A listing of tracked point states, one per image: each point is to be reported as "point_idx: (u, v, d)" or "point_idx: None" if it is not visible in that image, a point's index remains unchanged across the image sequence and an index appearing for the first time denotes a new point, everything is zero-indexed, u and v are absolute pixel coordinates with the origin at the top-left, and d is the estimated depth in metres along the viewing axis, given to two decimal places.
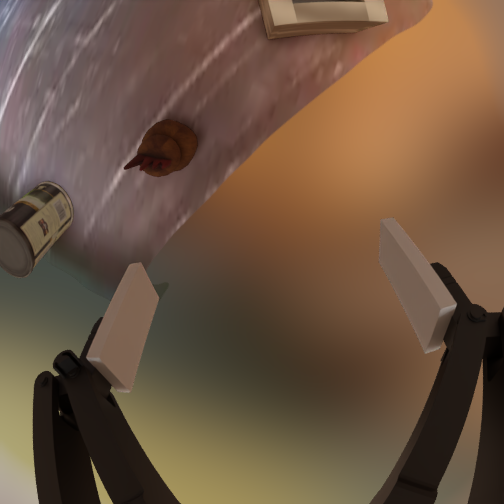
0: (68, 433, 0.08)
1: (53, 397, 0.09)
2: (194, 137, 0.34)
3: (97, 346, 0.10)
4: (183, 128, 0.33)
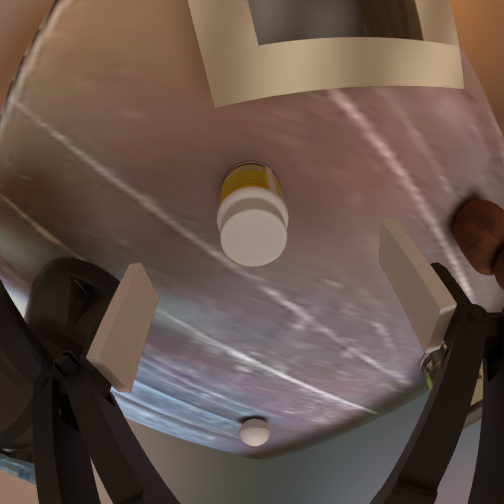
0: (68, 433, 0.08)
1: (53, 397, 0.09)
2: (493, 208, 0.20)
3: (97, 346, 0.10)
4: (482, 220, 0.21)
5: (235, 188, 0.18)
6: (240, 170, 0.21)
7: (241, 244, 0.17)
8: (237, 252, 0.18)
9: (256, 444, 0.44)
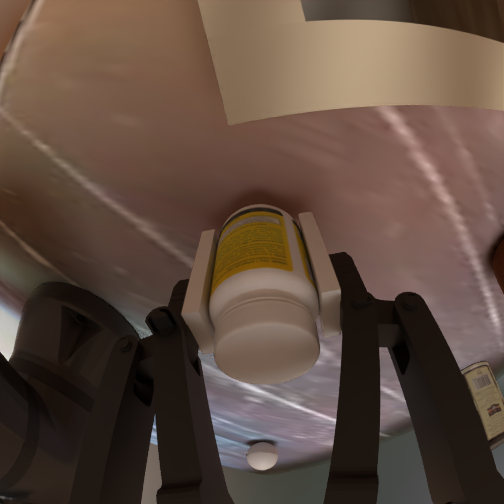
0: (136, 409, 0.09)
1: (132, 368, 0.10)
2: None
3: (192, 302, 0.12)
4: None
5: (238, 267, 0.11)
6: (245, 223, 0.14)
7: (247, 364, 0.11)
8: (241, 371, 0.11)
9: (263, 468, 0.40)
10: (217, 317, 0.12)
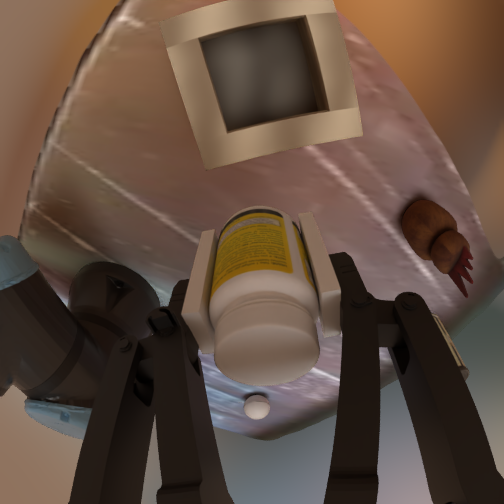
0: (136, 409, 0.09)
1: (132, 368, 0.10)
2: (430, 207, 0.30)
3: (192, 302, 0.12)
4: (421, 217, 0.31)
5: (238, 269, 0.12)
6: (245, 224, 0.14)
7: (247, 366, 0.11)
8: (241, 373, 0.11)
9: (258, 417, 0.54)
10: (217, 319, 0.12)
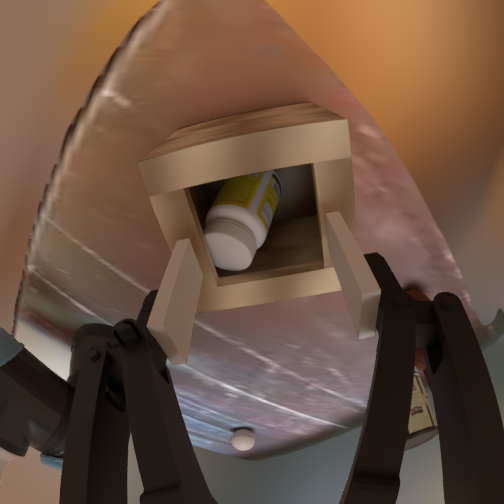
0: (111, 414, 0.09)
1: (102, 375, 0.09)
2: None
3: (158, 314, 0.11)
4: None
5: (220, 202, 0.21)
6: None
7: (215, 254, 0.21)
8: (212, 258, 0.21)
9: (244, 449, 0.56)
10: None
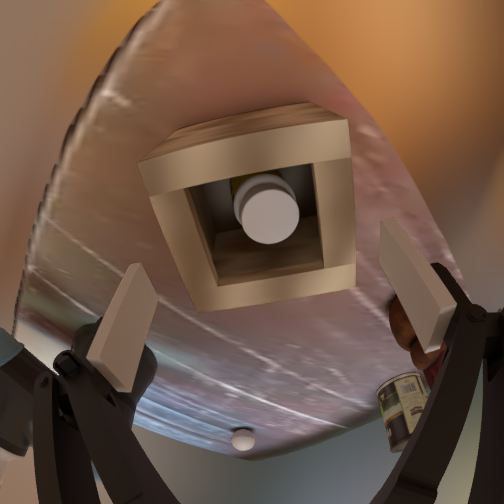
0: (68, 433, 0.08)
1: (53, 397, 0.09)
2: None
3: (97, 346, 0.10)
4: None
5: (261, 173, 0.21)
6: None
7: (259, 219, 0.19)
8: (252, 225, 0.20)
9: (244, 449, 0.56)
10: (242, 195, 0.20)
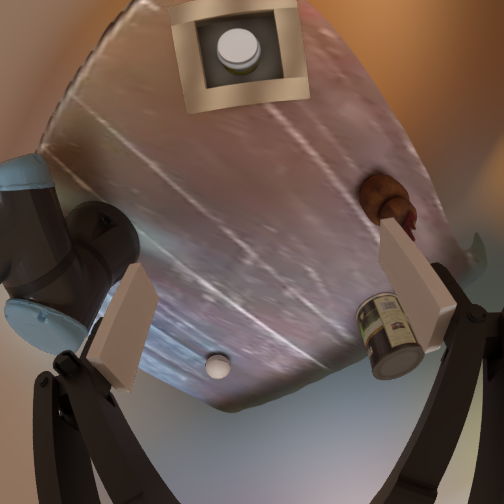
0: (68, 433, 0.08)
1: (53, 397, 0.09)
2: (384, 178, 0.36)
3: (97, 346, 0.10)
4: (374, 186, 0.37)
5: None
6: None
7: (229, 43, 0.23)
8: (224, 45, 0.23)
9: (217, 376, 0.60)
10: None
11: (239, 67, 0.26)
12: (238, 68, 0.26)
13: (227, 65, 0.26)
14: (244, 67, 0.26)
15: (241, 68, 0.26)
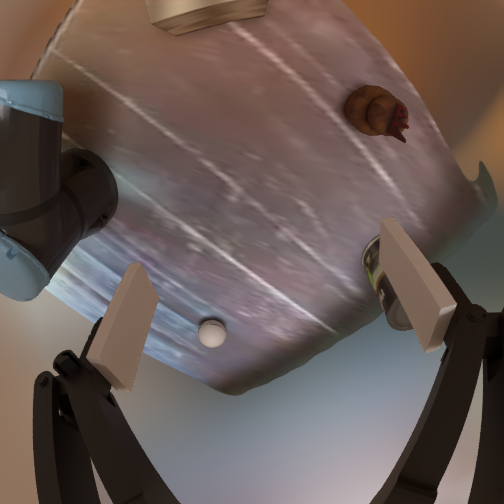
0: (68, 433, 0.08)
1: (53, 397, 0.09)
2: (367, 86, 0.30)
3: (97, 346, 0.10)
4: (358, 94, 0.31)
5: None
6: None
7: None
8: None
9: (212, 343, 0.55)
10: None
11: None
12: None
13: None
14: None
15: None
